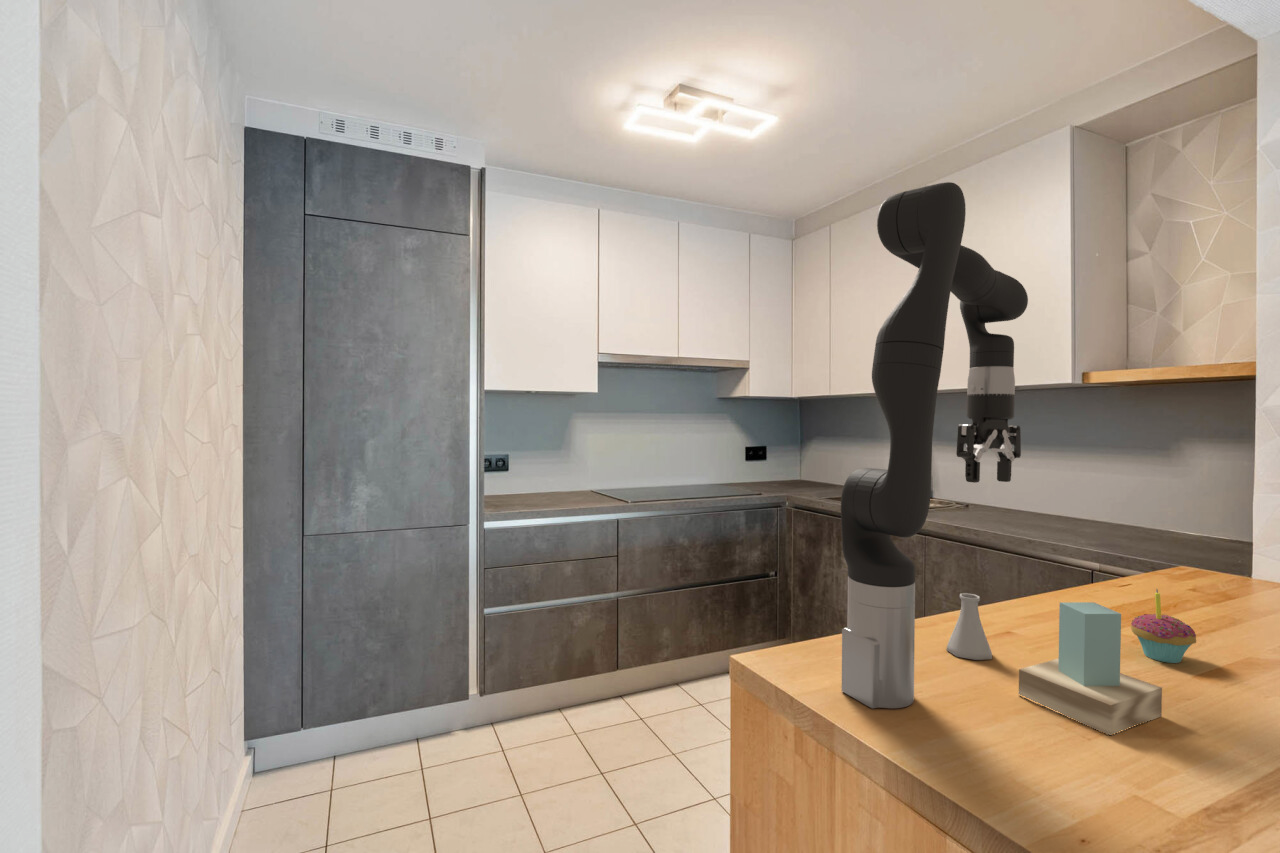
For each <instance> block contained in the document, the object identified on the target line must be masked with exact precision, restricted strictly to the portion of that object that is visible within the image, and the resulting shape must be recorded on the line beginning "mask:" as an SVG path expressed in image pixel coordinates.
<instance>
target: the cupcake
mask: <svg viewBox="0 0 1280 853" xmlns="http://www.w3.org/2000/svg"><path fill="white" fill-rule="evenodd" d="M1155 591H1156V592H1154V598H1155V599H1154V600H1155V613H1153V614H1152V613H1149V614H1148V613H1147V614H1146V613H1144V614H1142V615H1139V616H1135V617H1134V618H1133V619H1132V620H1131V625H1130V629H1131V633H1133V634H1134V635H1135V636H1136V637H1137V639H1138V640H1139V641H1138V642H1140V646H1141V648H1142V651H1143V655H1145V656H1146V657H1147V658H1149V659H1151V660H1154V661H1157V662H1163V663H1169V664H1179V663H1181V662H1182V660H1183V658H1184V655H1185V653H1186V652H1187V650H1188V649H1190V647H1191V646H1192V645H1193V644H1196V643H1197V634H1196V632H1195V630H1194V629H1193V628H1192V627H1191V626H1190V625H1189V624H1187V623H1185V622H1183V621H1182V620H1180V619H1179V618H1176V617H1173V616H1172V615H1171V616H1170V615H1168V614H1162V606H1161V604H1162V602H1161V593H1160V592H1159V589H1158V588H1156V589H1155Z"/></svg>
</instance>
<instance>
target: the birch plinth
mask: <svg viewBox="0 0 1280 853" xmlns="http://www.w3.org/2000/svg"><path fill="white" fill-rule="evenodd" d="M1058 665H1059V657H1058V658H1055V659H1052V660H1049V661H1044V662H1041V663H1037V664H1033V665H1030V666H1026V667H1023V668H1019V669H1018V695H1019V694H1020V695H1022V696H1025V697H1026V698H1029V699H1031V700H1033V701H1035V702H1038V703H1040V704H1042V705H1044V706H1047V707H1049V708H1051V709H1053V710H1055V711H1058V712H1060V713H1062V714H1064V715H1066V716H1068V717H1070V718H1073V719H1075V720H1077V721H1079V722H1081V723H1083V724H1082V725H1084V724H1085V725H1084V726H1086V725H1088V726H1090V727H1089V728H1091V727H1092V728H1091V729H1093V728H1094V729H1093V730H1095V729H1096V731H1097V730H1099V731H1098V732H1100V731H1102V732H1104V733H1106V734H1105V735H1107V734H1109V735H1112V734H1114V733H1117V732H1119V731H1121V730H1125V729H1127V728H1129V727H1132V726H1134V725H1137V724H1140V723H1143V722H1145V723H1147V721H1148V722H1151V721H1153V720H1155V719H1158V718H1160V717H1162V709H1163V708H1162V707H1163V703H1162V702H1163V687H1162V686H1159V685H1156V684H1153V683H1150V682H1147V681H1145V680H1141V679H1139V678H1135V677H1132V676H1129V675H1127V674H1124V673H1121V672H1120V686H1083V685H1081V684H1079V683H1078V682H1076V681H1075V680H1073V679H1071V678H1070V677H1068V676H1066V675H1065V674H1063V673H1062V672H1060V671H1058ZM1070 718H1069V719H1070ZM1150 720H1151V721H1150ZM1077 721H1076V722H1077ZM1079 722H1078V723H1079ZM1081 723H1080V724H1081ZM1143 724H1144V723H1143ZM1140 725H1141V724H1140ZM1088 726H1087V727H1088ZM1132 728H1133V727H1132ZM1127 730H1128V729H1127ZM1125 731H1126V730H1125ZM1102 732H1101V733H1102ZM1104 733H1103V734H1104ZM1119 733H1120V732H1119ZM1117 734H1118V733H1117ZM1109 735H1108V736H1109ZM1114 735H1115V734H1114ZM1112 736H1113V735H1112Z"/></svg>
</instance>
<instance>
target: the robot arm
mask: <svg viewBox="0 0 1280 853" xmlns="http://www.w3.org/2000/svg"><path fill="white" fill-rule="evenodd" d="M966 210H967V209H966V199H965V195H964V193H963V189H962V188H961V187H960V186H959V185H958V184H957V183H955V182H949V181H948V182H940V183H935V184H932V185H925V186H922V187H917V188H914V189H909V190H905V191H901V192H897V193H895V194H893V195H890V196H889V197H887V198H886V199H884V201H883V202H882V203H881V205H880V206H879V209H878V212H877V218H876V230H877V234H878V237H879V240H880V242H881V244H882V245H883V247H884V248H885V249H886V250H887V251H888V252H889V253H891V254H892V255H894V256H896V258H899V259H901V260H903V261H904V262H907V263H909V264H910V265H912V266H914V267H915V268H918V271H917V274H916V275H915V278H914V280H913V282H912V283H911V284H910V287H909V288H908V290H907V291H906V292H905V293H904V294H903V297H901V298H900V300H899V301H898V302H897V304H896V305H895V307H893V309H892V310H891V312H890V313H889V314H888V316H887V318H885V320H884V322H883V323H882V325H881V327H880V329H879V330H878V333H877V336H876V340H875V347H874V353H873V360H872V368H871V383H872V386H873V391H874V393H875V396H876V399H877V401H878V404H879V406H880V408H881V410H882V413H883V415H884V418H885V420H886V422H887V426H888V430H889V437H890V440H889V441H890V442H889V443H890V448H889V456H888V457H889V460H888V465H887V469H883V468H873V467H863V468H862V467H861V468H858V469H856V470H854V471H853V472H851V473H850V474H849V475H848V476H847V478H846V480H845V481H844V482H845V483H844V485H843V487H842V491H841V498H840V524H841V542H842V543H841V547H842V554H843V557H844V560H845V563H846V565H847V614H846V615H847V616H846V617H847V619H846V620H847V621H846V622H847V623H846V624H847V626H846V627H843V628H841V692H842V693H845V694H846V695H848V696H849V697H852V698H853V699H855V700H856V701H858V702H859V703H862V704H863V705H864V706H867V707H869V708H870V709H876V708H883V709H902V708H905V707H909V706H910V705H912V704H913V703H914V700H915V637H916V636H915V628H916V626H915V624H916V623H915V622H916V620H915V618H916V617H915V616H916V614H915V612H916V611H915V610H916V566H915V563H914V561H913V560H912V559H911V558H910V557H909V556H907V555H906V554H904V553H903V552H902V551H901V550H900V549H899V548H898V547H897V546H896V544H895V543H894V542H893V540H892V538H891V536H893V537H898V538H910V537H913V536H915V535H917V533H919V532H920V531H922V528H923V527H924V525H925V523H926V521H927V517H928V513H929V510H930V506H931V505H930V503H931V496H932V494H931V492H932V467H933V466H932V464H933V463H932V460H933V459H932V457H933V435H934V425H935V413H936V405H937V399H938V398H937V397H938V389H939V383H940V378H941V372H942V363H943V359H944V358H943V357H944V356H943V355H944V350H945V340H946V338H945V337H946V328H947V320H948V319H947V318H948V311H949V305H950V304H949V302H950V297H951V293H952V294H953V295H954V296H955V297H956V298H957V299H958V300H959V309H960V314H961V317H962V320H963V323H964V327H965V330H966V335H967V339H968V344H969V345H968V346H969V369H968V377H967V389H966V390H967V394H966V396H967V398H966V417H967V418H968V419H970V420H971V423H959V424H958V426H957V438H956V442H957V443H956V457H958V458H961V459H963V461H964V462H965V465H964V466H965V468H964V469H965V470H964V471H965V474H964V475H965V476H964V477H965V481H966V482H967V483H975V484H976V483H980V480H981V479H980V477H981V476H980V475H981V462H980V461H981V458H982V456H983V455H984V453H987V451H988V450H991V451H992V452H993V453H995V455H996V457H997V461H996V462H997V464H996V467H997V468H996V480H997V481H998V482H1002V483H1003V482H1005V483H1010V482H1011V481H1012V463H1013V461H1015V459H1019V458H1021V455H1022V450H1021V448H1022V446H1021V445H1022V443H1021V426H1020V425H1009V424H1008V423H1009V420H1013V419H1014V417H1015V396H1016V395H1015V394H1016V393H1015V392H1016V391H1015V390H1016V378H1015V372H1014V371H1015V370H1014V369H1015V368H1014V366H1015V361H1014V360H1015V341H1014V339H1013V337H1012V336H1009V335H1007V334H1000V333H990V332H989V331H988V329H987V328H986V324H990V323H998V322H999V323H1000V322H1009V321H1013V320H1016V319H1018V318H1019V317H1021V316H1022V315H1023V314H1024V313H1025V311H1026V310H1027V307H1028V304H1029V297H1028V293H1027V290H1026V289H1025V287H1024V285H1023V284H1022V283H1021V282H1020V281H1019V280H1017V278H1015V277H1012V276H1011V275H1008V274H1007V273H1004V272H1002V271H1000V270H997V269H994V268H993V267H992V265H991V264H990V263H989V261H988V260H987V259H986V258H985V257H984V256H983V255H981V253H978V252H977V251H976V250H974V249H973V248H969V247H967V246H964V245H962V241H963V237H964V236H963V235H964V231H965V222H966ZM965 446H966V450H965V449H964V447H965ZM1012 449H1013V450H1012Z"/></svg>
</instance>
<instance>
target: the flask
mask: <svg viewBox="0 0 1280 853" xmlns="http://www.w3.org/2000/svg"><path fill="white" fill-rule="evenodd" d="M959 599H960V602H961V604H960V606H961V607H960V611H959V616H958V619H957V621H956V623H955V626H954V629H953V630H952V632H951V634H950V637H949V640H948V641H947V644H946V651H947V652H949V653H950V654H952V655H954V656H955V657H957V658H962V659H969V660H973V661H981V660H982V661H983V660H992V659H993V652H992V649H991V647H990V644H989V642H988V639H987V636H986V634H985V631H984V626H983V624H982V621H981V617H980V612H979V602H980V601H981V597H980V595H977V594H974V593H967V592H965V593H959Z"/></svg>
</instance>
